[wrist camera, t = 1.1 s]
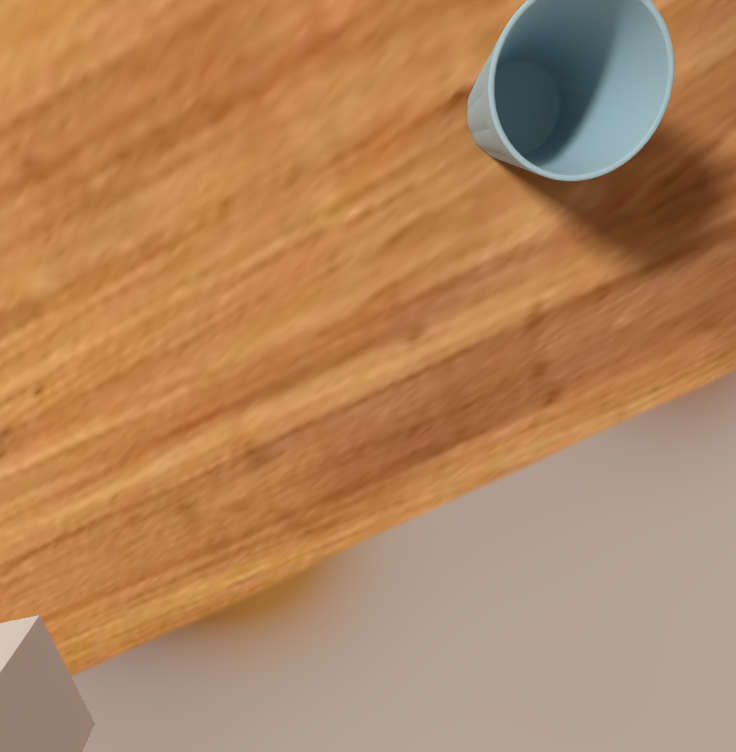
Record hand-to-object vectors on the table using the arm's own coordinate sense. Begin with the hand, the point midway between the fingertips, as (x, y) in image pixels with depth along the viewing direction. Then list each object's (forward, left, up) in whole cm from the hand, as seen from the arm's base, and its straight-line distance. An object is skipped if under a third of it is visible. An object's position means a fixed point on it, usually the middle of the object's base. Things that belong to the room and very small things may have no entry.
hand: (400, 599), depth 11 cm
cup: (-5, +13, -28) cm, 31 cm away
